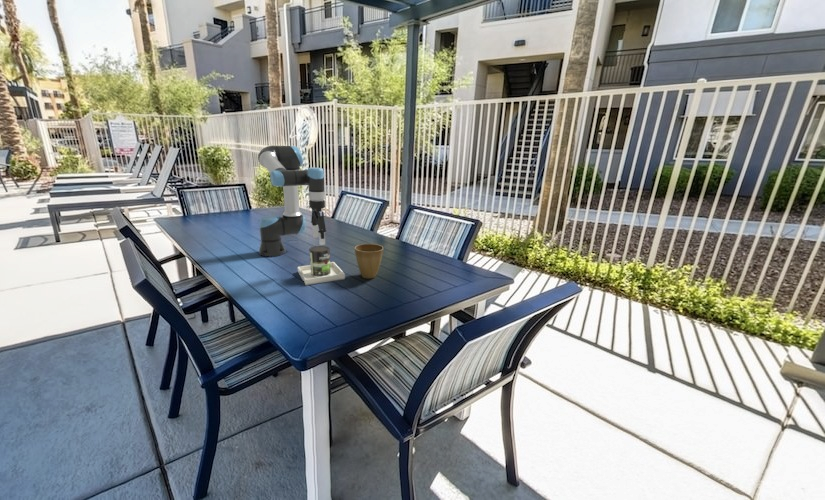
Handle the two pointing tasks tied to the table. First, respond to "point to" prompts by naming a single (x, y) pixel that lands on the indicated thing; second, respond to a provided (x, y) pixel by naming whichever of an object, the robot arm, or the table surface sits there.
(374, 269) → the plant pot
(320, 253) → the coffee can
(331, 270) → the tray
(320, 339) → the table surface
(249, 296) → the table surface
